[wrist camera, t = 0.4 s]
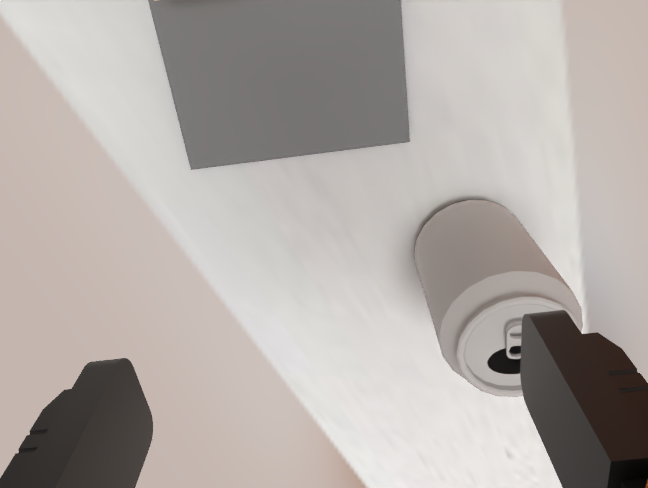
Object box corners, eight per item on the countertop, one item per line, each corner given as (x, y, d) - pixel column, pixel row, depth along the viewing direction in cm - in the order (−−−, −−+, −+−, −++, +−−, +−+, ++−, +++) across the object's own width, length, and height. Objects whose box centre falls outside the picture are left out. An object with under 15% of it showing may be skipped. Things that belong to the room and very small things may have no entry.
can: (414, 295, 40) (446, 415, 29) (409, 200, 37) (443, 296, 26) (518, 285, 40) (589, 403, 29) (523, 188, 36) (605, 281, 26)
